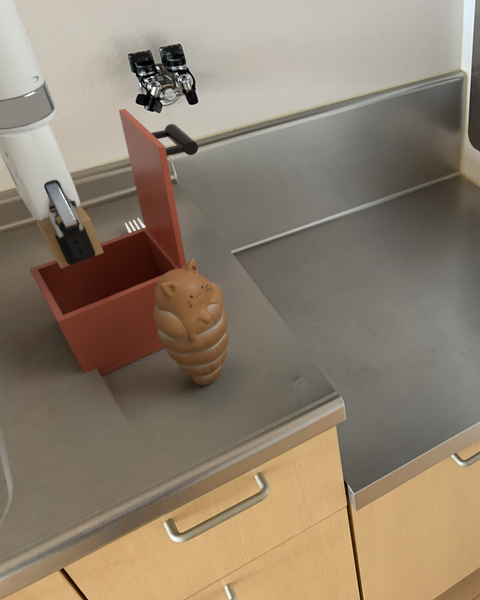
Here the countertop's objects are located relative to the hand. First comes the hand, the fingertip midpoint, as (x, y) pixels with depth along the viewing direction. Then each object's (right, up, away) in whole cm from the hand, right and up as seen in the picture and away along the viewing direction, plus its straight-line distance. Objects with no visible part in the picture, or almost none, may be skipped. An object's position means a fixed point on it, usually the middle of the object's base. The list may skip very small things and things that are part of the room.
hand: (74, 247), depth 74 cm
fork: (+1, 0, +24) cm, 24 cm away
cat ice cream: (+15, -17, +5) cm, 23 cm away
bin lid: (+8, +7, +2) cm, 11 cm away
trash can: (+2, -11, +11) cm, 16 cm away
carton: (0, 0, 0) cm, 1 cm away
